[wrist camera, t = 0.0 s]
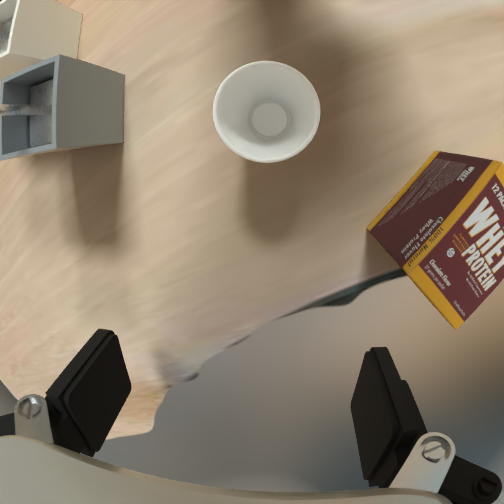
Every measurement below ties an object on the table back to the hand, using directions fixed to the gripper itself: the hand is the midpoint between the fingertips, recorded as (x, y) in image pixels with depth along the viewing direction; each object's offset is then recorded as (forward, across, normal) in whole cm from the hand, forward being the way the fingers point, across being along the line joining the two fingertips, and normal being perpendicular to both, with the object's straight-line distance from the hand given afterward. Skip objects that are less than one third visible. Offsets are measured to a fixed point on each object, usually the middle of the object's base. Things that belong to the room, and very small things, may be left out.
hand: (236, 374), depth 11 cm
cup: (+31, 0, -11) cm, 33 cm away
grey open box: (+31, +25, -14) cm, 42 cm away
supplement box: (+32, -22, 0) cm, 38 cm away
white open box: (+31, +34, -27) cm, 53 cm away
